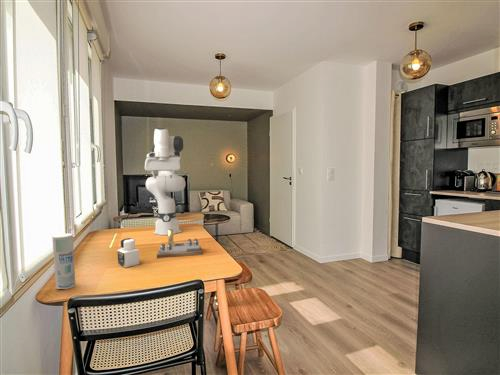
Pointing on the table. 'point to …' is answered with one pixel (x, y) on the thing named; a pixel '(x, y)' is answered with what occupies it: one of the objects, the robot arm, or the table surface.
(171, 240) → the pin
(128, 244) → the medicine bottle
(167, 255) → the chain base
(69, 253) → the spray can
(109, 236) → the table surface
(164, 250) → the chain end left
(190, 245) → the chain end right
